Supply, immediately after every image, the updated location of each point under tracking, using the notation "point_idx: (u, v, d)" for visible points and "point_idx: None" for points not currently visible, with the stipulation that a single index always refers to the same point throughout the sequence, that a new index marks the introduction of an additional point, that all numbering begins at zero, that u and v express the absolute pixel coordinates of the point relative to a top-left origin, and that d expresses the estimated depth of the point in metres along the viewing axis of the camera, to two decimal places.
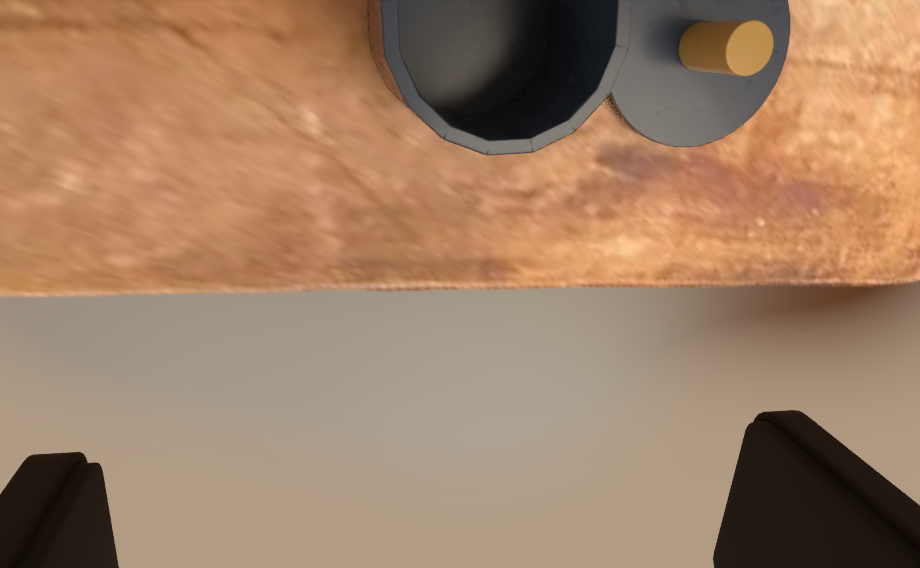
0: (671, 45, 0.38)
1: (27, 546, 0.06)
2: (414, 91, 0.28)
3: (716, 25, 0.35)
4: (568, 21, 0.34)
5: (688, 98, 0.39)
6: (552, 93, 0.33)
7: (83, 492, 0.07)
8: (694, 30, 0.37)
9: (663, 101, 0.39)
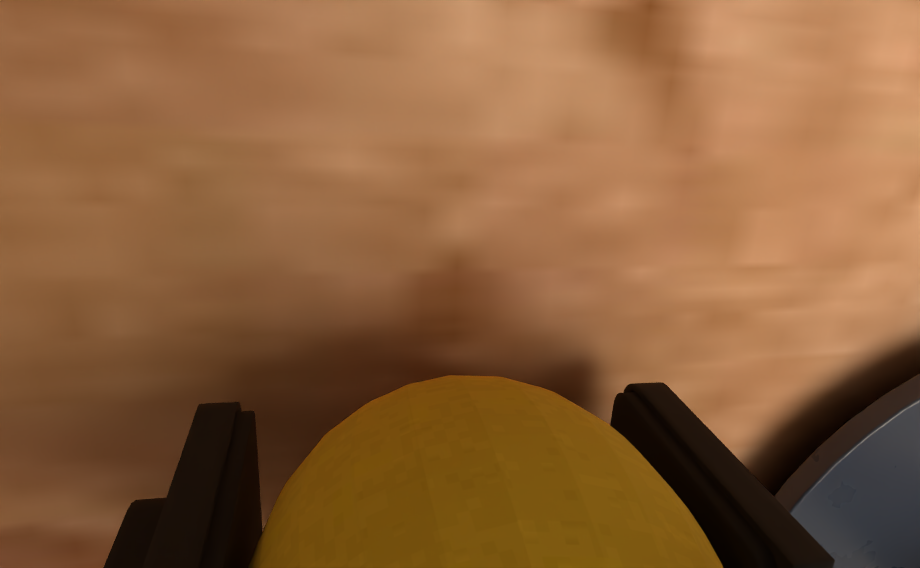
0: None
1: (223, 471, 0.08)
2: None
3: None
4: None
5: None
6: None
7: (249, 434, 0.09)
8: None
9: None
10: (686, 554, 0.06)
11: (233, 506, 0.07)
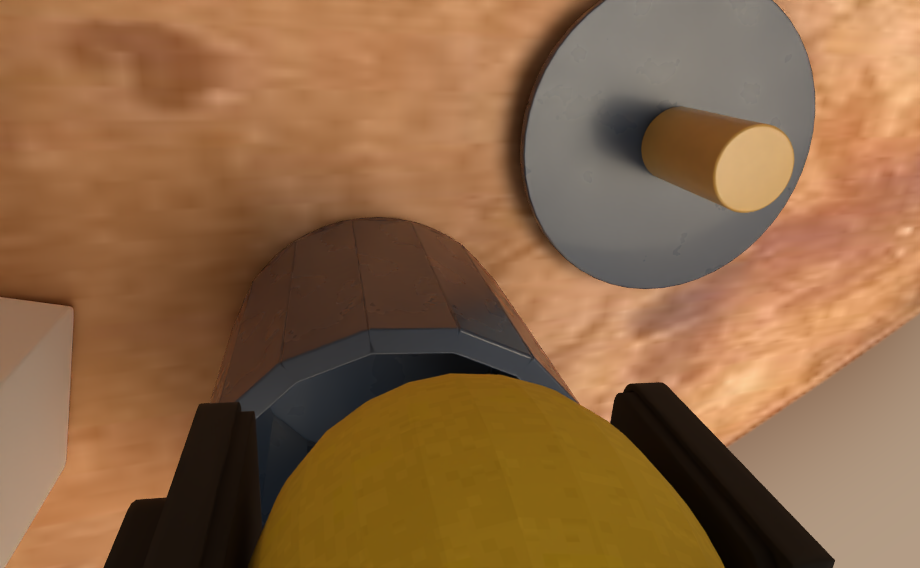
0: (635, 174, 0.25)
1: (224, 472, 0.08)
2: None
3: (680, 146, 0.21)
4: None
5: (704, 205, 0.26)
6: None
7: (249, 434, 0.09)
8: (653, 148, 0.23)
9: (673, 235, 0.26)
10: (687, 553, 0.06)
11: (233, 506, 0.07)
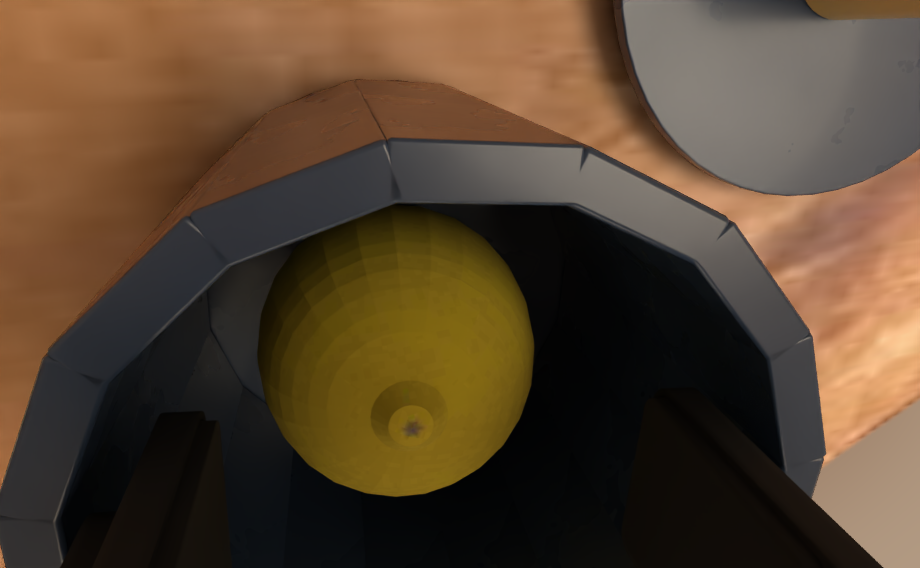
0: (786, 8, 0.16)
1: (180, 485, 0.07)
2: None
3: None
4: None
5: (882, 64, 0.17)
6: (639, 371, 0.14)
7: (211, 444, 0.08)
8: None
9: (834, 110, 0.17)
10: (480, 248, 0.12)
11: (186, 522, 0.07)
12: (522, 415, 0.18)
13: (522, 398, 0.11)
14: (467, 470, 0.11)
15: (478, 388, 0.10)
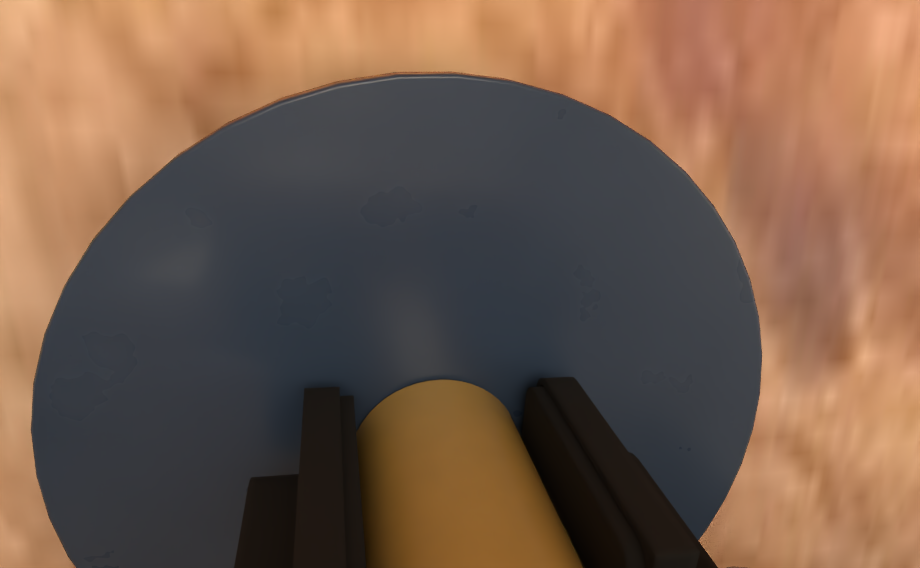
0: None
1: (341, 449, 0.08)
2: None
3: None
4: None
5: (582, 346, 0.10)
6: None
7: None
8: None
9: (643, 401, 0.11)
10: None
11: (359, 480, 0.08)
12: None
13: None
14: None
15: None
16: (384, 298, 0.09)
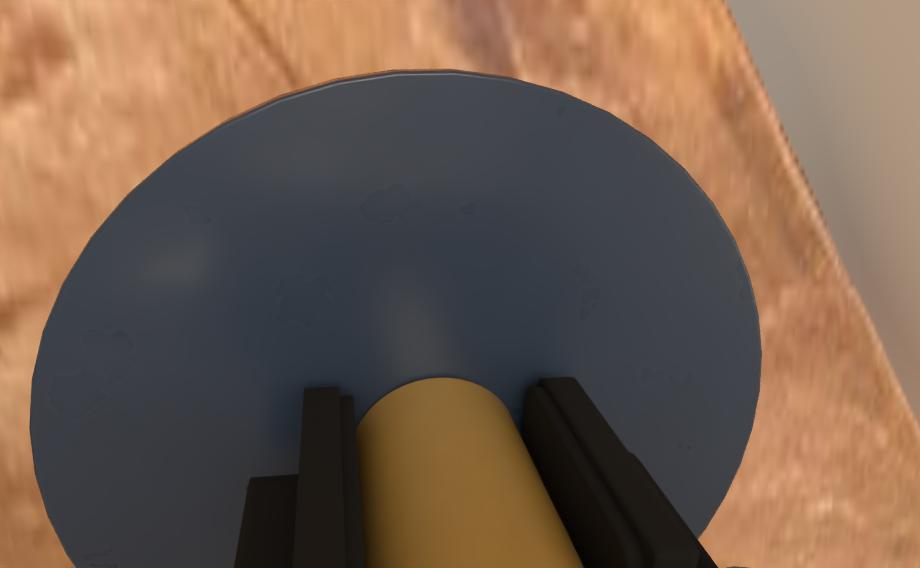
0: None
1: (341, 449, 0.08)
2: None
3: None
4: None
5: (582, 345, 0.10)
6: None
7: None
8: None
9: (642, 399, 0.11)
10: None
11: (359, 480, 0.08)
12: None
13: None
14: None
15: None
16: (383, 296, 0.09)
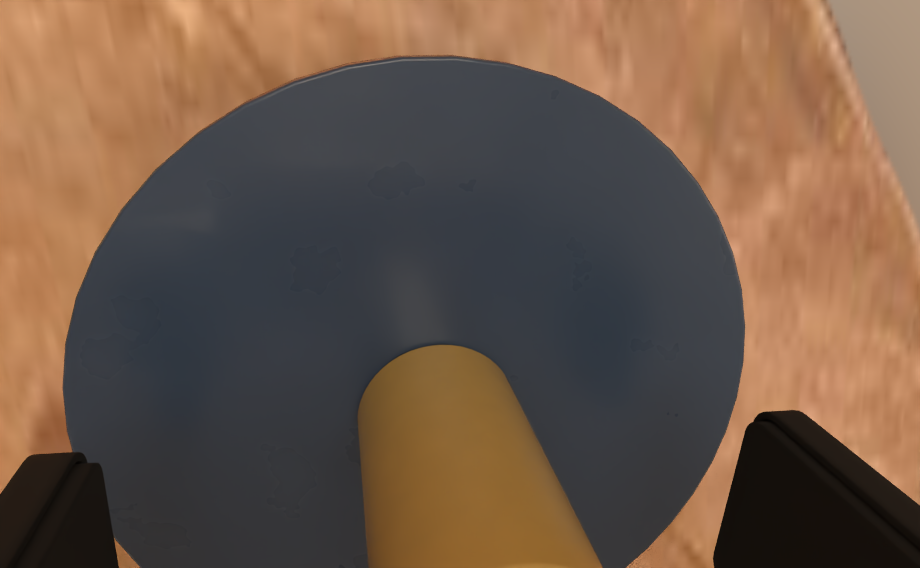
0: None
1: (28, 546, 0.06)
2: None
3: None
4: None
5: (575, 314, 0.11)
6: None
7: (83, 492, 0.07)
8: None
9: (632, 368, 0.12)
10: None
11: None
12: None
13: None
14: None
15: None
16: (389, 267, 0.10)
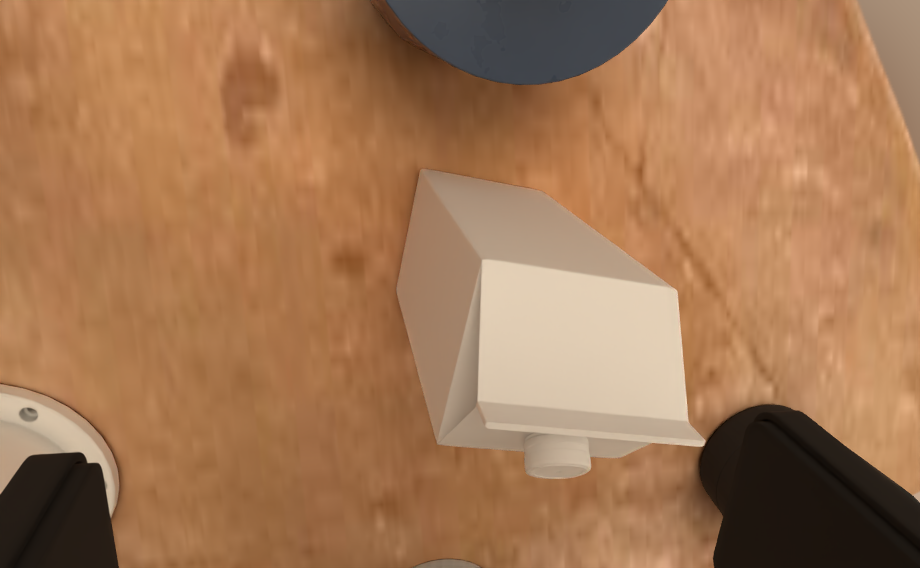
0: None
1: (27, 545, 0.06)
2: None
3: None
4: None
5: None
6: None
7: (83, 492, 0.07)
8: None
9: None
10: None
11: None
12: None
13: None
14: None
15: None
16: None
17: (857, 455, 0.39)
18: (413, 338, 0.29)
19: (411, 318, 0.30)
